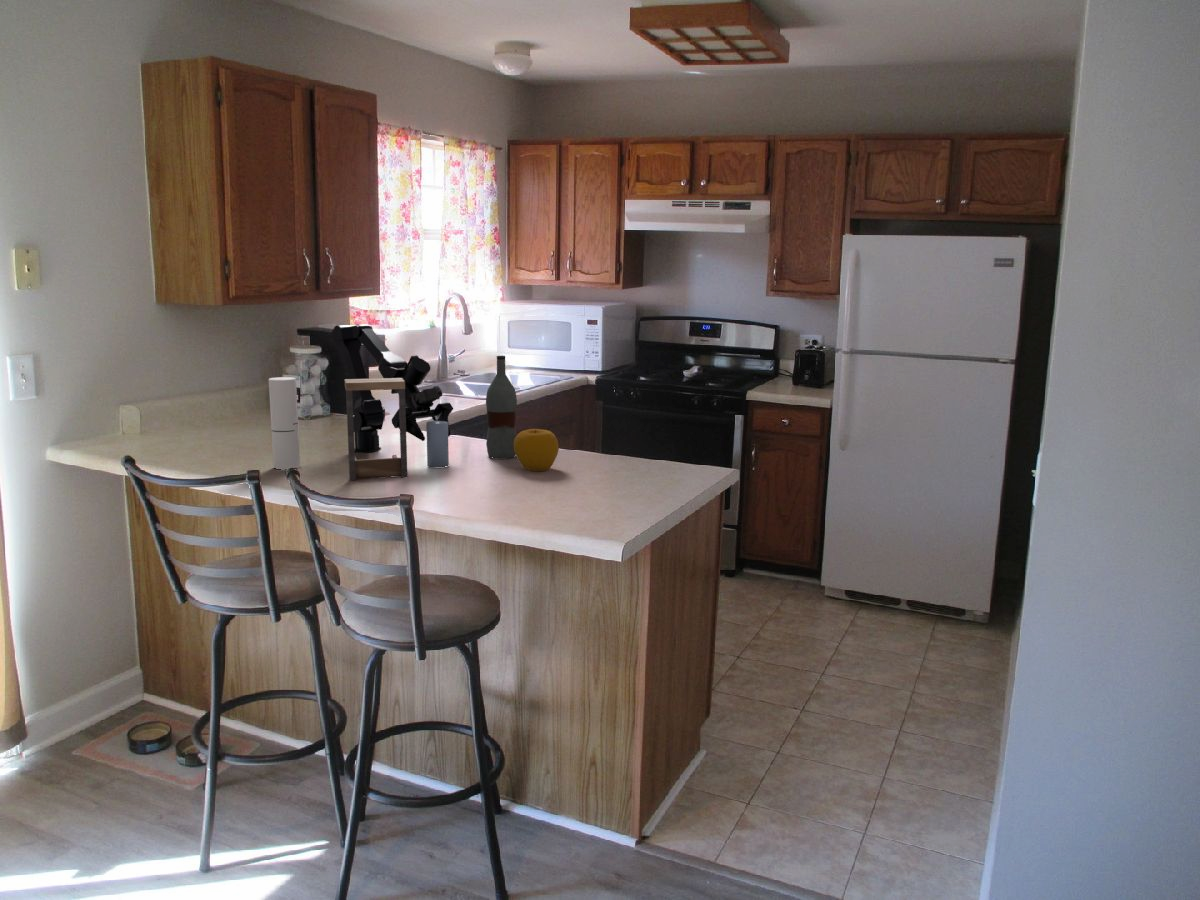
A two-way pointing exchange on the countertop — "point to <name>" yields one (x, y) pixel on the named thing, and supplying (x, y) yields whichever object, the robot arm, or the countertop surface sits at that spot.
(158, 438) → the countertop surface
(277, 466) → the cylindrical container
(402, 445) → the shelf bay
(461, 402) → the countertop surface
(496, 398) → the bottle
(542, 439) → the apple
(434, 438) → the blue-grey tall cylinder
